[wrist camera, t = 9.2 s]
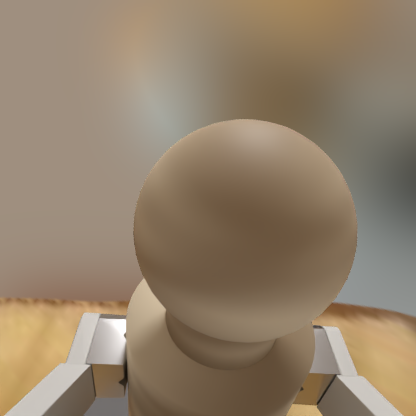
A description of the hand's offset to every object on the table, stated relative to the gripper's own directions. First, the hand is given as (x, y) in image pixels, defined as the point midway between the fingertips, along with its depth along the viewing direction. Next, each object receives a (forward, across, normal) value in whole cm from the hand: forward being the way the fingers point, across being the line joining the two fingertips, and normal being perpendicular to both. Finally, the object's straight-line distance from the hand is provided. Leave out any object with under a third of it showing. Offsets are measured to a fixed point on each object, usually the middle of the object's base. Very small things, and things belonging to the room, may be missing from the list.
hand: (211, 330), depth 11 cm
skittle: (-1, 0, -8) cm, 8 cm away
